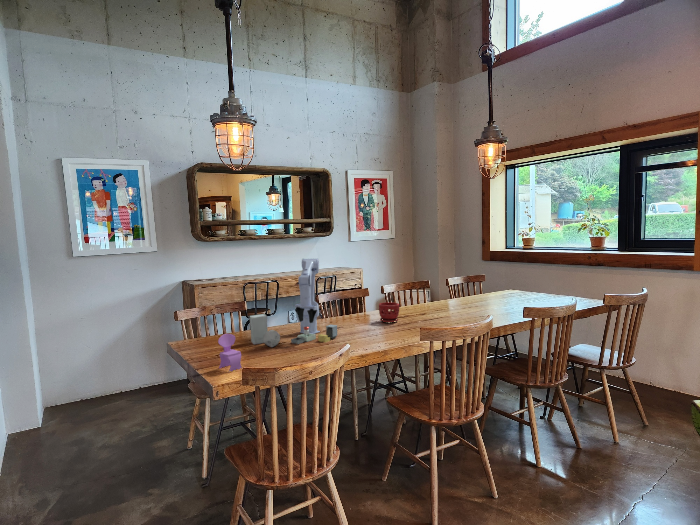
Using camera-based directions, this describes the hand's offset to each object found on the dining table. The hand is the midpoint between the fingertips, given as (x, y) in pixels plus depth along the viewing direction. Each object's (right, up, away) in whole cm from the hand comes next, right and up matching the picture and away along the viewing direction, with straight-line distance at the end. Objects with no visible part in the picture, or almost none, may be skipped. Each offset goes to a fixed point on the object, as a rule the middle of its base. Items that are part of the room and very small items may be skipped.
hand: (306, 321), depth 228 cm
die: (-17, -11, -9) cm, 22 cm away
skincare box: (-25, -11, -2) cm, 27 cm away
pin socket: (-4, -10, -4) cm, 12 cm away
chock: (+10, -10, -2) cm, 14 cm away
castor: (+14, -9, +3) cm, 17 cm away
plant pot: (+49, -6, +41) cm, 64 cm away
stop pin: (0, -9, +1) cm, 9 cm away
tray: (0, -10, +1) cm, 10 cm away
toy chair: (-29, -14, -44) cm, 55 cm away
